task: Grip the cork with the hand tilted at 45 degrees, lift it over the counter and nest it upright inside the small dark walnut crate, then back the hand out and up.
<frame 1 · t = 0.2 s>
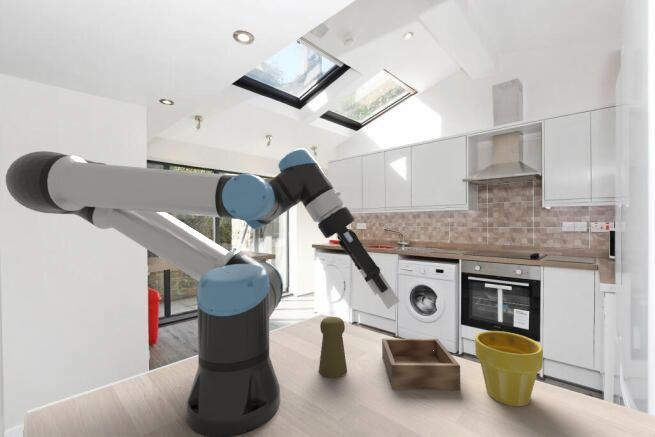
hand: (386, 297, 64), 15 cm above the worktop, tool tilted 35°, fingers open, 13 cm apart
walnut crate: (417, 372, 62), on the worktop
cork: (332, 371, 64), on the worktop
plant pot: (507, 397, 54), on the worktop
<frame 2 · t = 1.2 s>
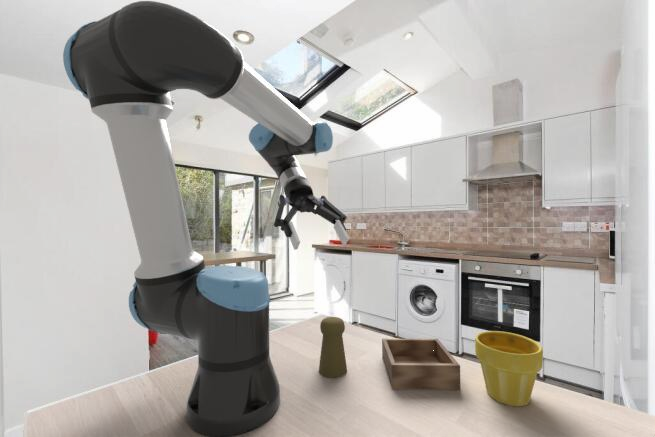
hand: (322, 243, 73), 26 cm above the worktop, tool tilted 45°, fingers open, 13 cm apart
nothing on the worktop moved.
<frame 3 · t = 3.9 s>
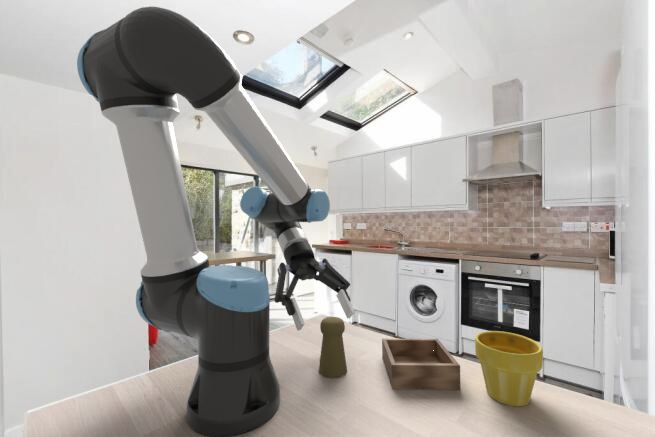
hand: (327, 321, 68), 9 cm above the worktop, tool tilted 45°, fingers open, 13 cm apart
nothing on the worktop moved.
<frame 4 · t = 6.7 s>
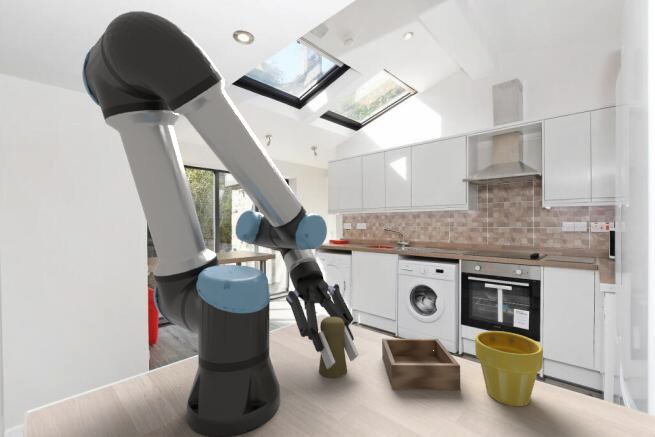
hand: (343, 361, 60), 3 cm above the worktop, tool tilted 45°, fingers closed on cork, 5 cm apart
cork: (333, 371, 64), on the worktop, touching gripper
everything else where it was.
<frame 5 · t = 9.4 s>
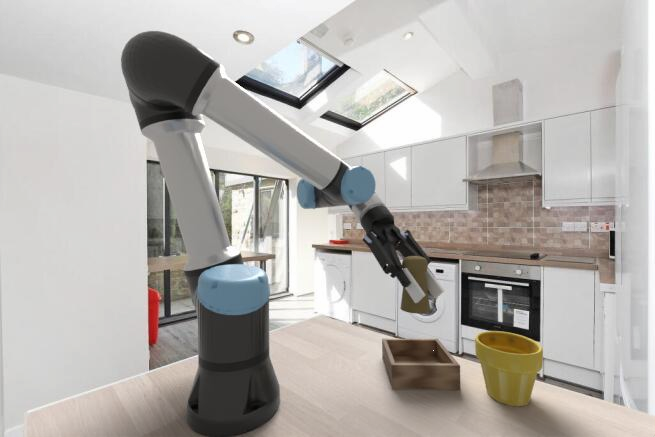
hand: (430, 296, 60), 16 cm above the worktop, tool tilted 45°, fingers closed on cork, 5 cm apart
cork: (415, 310, 63), point 13 cm above the worktop, touching gripper
everything else where it was.
when the fingers open (6 cm above the worktop, at t = 12.1 s): cork drops 1 cm, resting on walnut crate.
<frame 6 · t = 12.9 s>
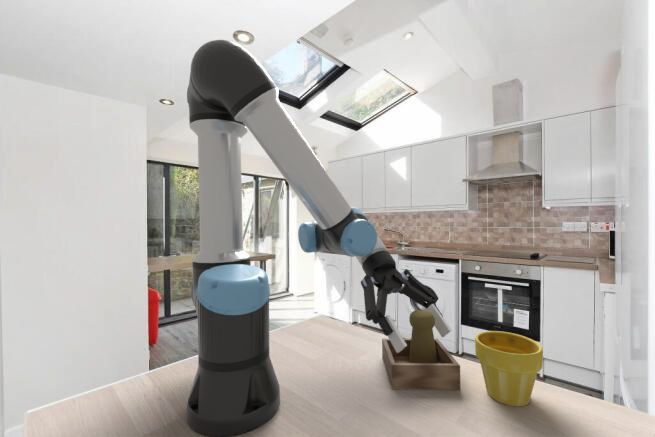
hand: (426, 341, 61), 7 cm above the worktop, tool tilted 45°, fingers open, 13 cm apart
cork: (423, 362, 65), point 1 cm above the worktop, touching walnut crate
everything else where it was.
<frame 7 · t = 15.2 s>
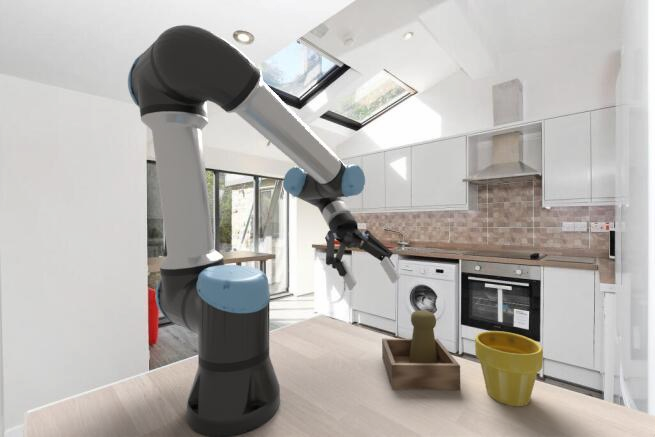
hand: (375, 283, 72), 17 cm above the worktop, tool tilted 45°, fingers open, 13 cm apart
nothing on the worktop moved.
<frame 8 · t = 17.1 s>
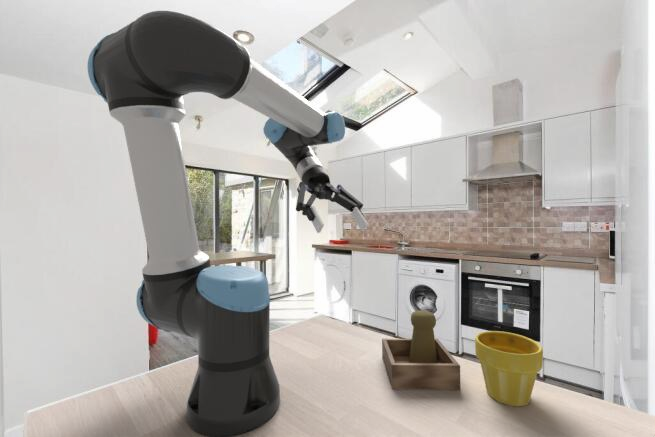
hand: (344, 228, 75), 30 cm above the worktop, tool tilted 45°, fingers open, 13 cm apart
nothing on the worktop moved.
at the end: cork 3.1 cm off-centre on the walnut crate, point 0.6 cm above the walnut crate's base; cork tilted 0°; the gripper is holding nothing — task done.
